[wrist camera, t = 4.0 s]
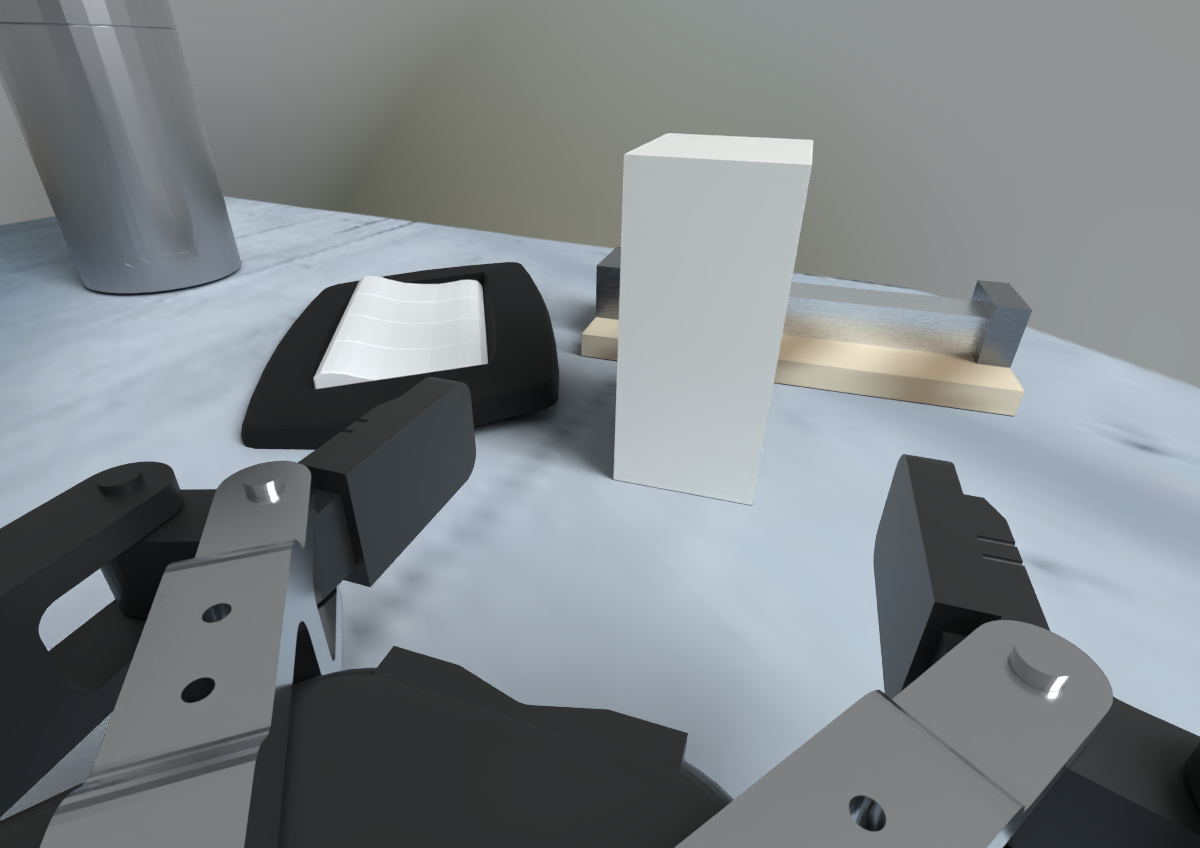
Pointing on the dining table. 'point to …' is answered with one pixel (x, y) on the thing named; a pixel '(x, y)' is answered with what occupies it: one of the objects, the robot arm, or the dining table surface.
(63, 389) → the dining table surface
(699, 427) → the block
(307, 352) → the light switch
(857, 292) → the rail
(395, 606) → the dining table surface
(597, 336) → the mounting board
